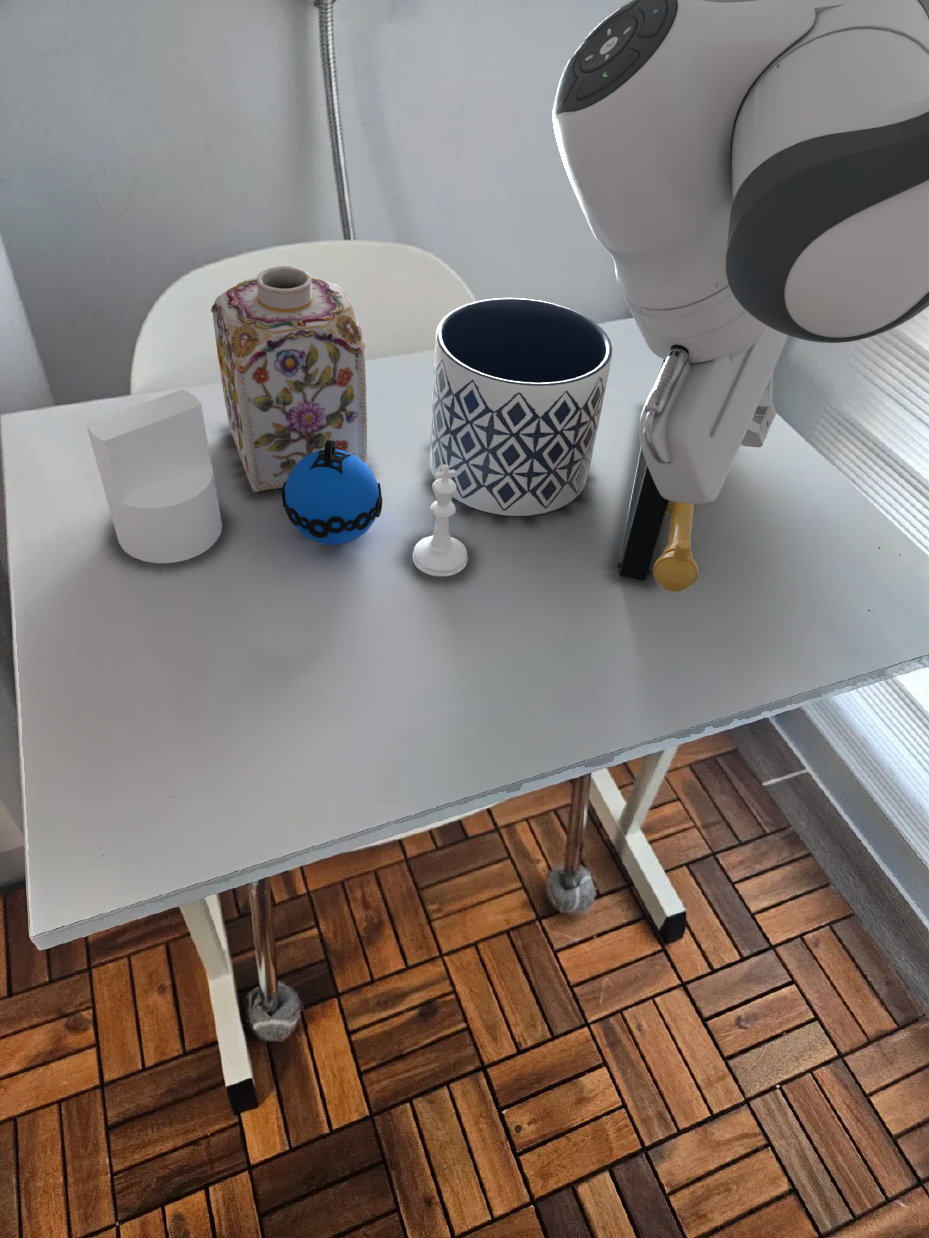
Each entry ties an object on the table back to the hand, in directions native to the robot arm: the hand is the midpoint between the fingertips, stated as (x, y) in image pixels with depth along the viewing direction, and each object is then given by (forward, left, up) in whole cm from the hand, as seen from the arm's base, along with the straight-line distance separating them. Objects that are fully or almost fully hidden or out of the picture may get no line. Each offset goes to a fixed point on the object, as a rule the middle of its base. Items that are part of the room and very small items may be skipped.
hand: (758, 431), depth 64 cm
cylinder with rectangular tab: (+47, +5, -18) cm, 50 cm away
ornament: (+33, +1, -18) cm, 38 cm away
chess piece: (+23, +1, -18) cm, 29 cm away
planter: (+20, -14, -18) cm, 30 cm away
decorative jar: (+41, -10, -18) cm, 46 cm away
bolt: (+4, +4, -9) cm, 11 cm away
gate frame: (+5, -16, -18) cm, 24 cm away
